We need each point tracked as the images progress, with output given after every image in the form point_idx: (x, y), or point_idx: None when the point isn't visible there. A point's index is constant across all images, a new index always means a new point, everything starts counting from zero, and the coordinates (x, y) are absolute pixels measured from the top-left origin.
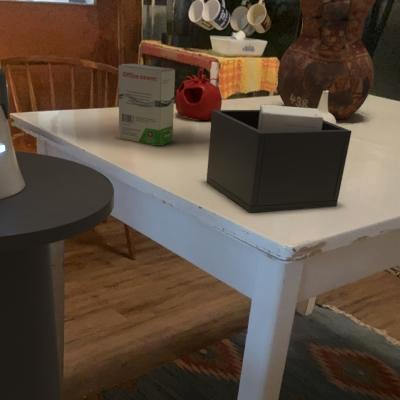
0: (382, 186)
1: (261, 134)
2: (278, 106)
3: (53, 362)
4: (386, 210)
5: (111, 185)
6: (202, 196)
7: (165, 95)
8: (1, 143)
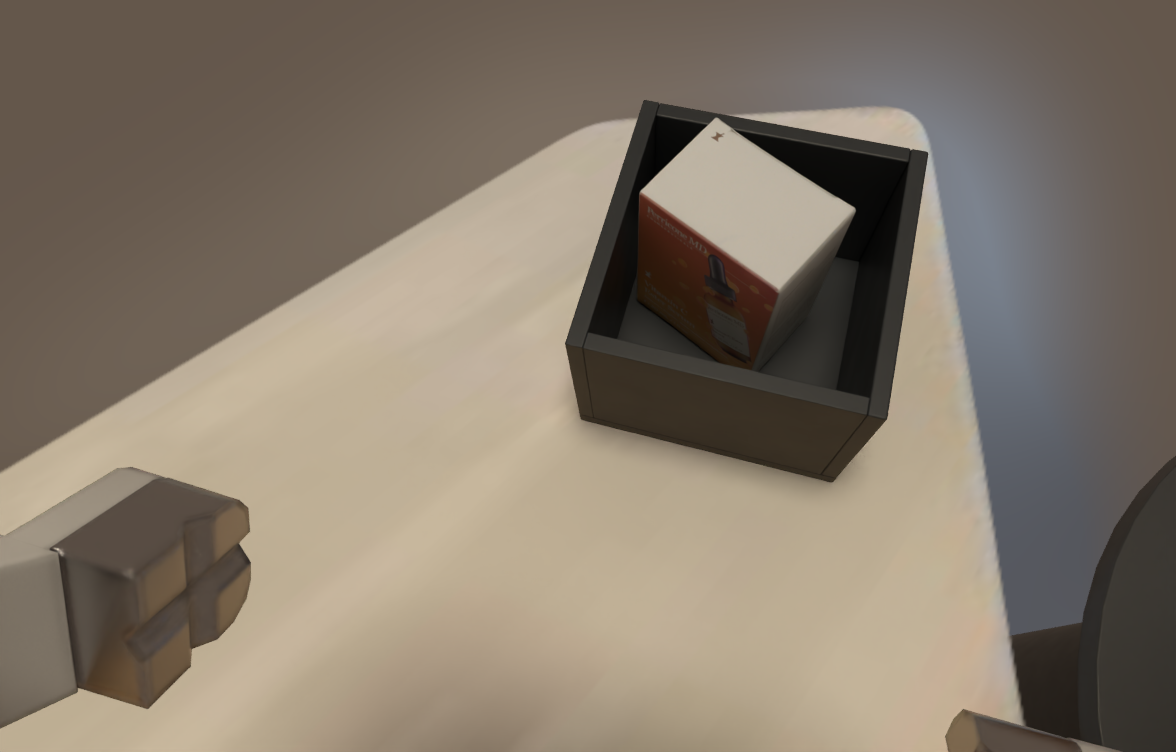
0: (401, 261)
1: (922, 152)
2: (750, 243)
3: (1067, 645)
4: (561, 153)
5: (1112, 590)
6: (913, 393)
7: None
8: None
